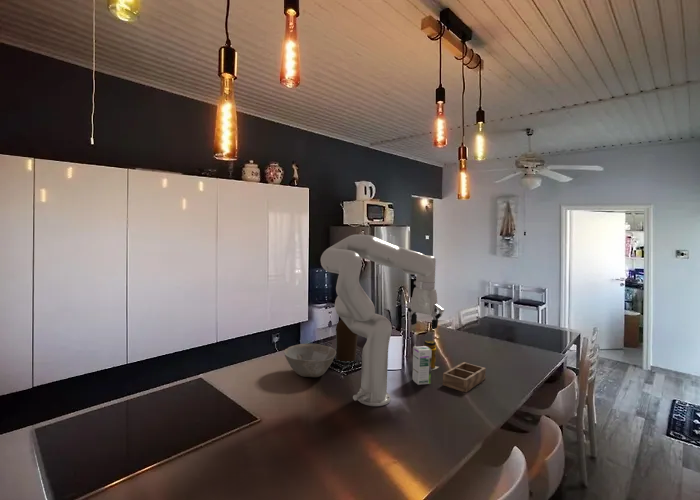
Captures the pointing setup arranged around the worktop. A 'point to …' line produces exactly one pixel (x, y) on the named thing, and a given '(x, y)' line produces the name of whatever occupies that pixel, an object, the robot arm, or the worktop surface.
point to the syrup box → (422, 365)
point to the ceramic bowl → (310, 359)
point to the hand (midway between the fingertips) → (423, 326)
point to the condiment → (433, 347)
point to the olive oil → (345, 342)
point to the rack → (464, 377)
